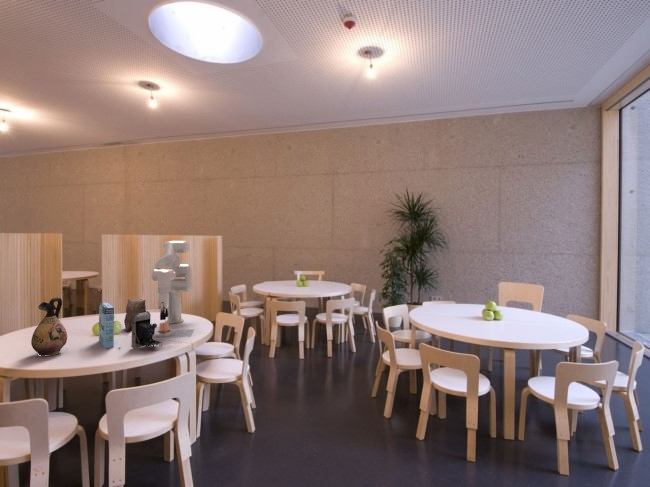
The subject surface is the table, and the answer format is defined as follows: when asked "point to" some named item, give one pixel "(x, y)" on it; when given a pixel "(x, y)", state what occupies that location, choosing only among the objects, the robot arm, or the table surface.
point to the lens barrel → (166, 334)
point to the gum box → (106, 325)
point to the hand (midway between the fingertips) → (164, 318)
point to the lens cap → (164, 327)
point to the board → (179, 334)
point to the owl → (133, 311)
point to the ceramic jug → (49, 330)
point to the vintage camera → (143, 330)
